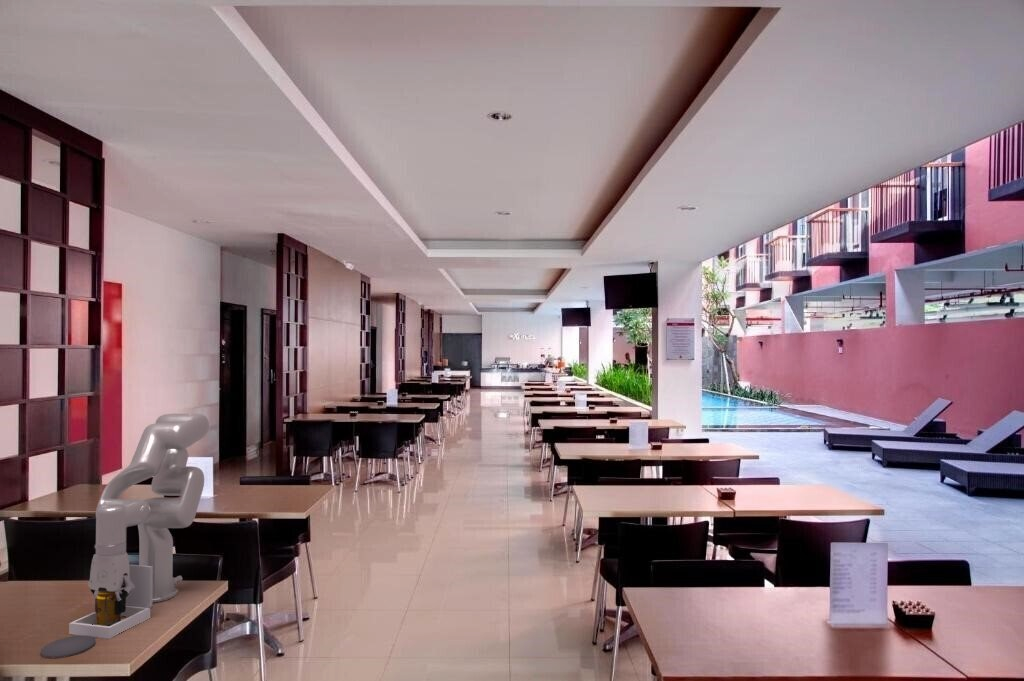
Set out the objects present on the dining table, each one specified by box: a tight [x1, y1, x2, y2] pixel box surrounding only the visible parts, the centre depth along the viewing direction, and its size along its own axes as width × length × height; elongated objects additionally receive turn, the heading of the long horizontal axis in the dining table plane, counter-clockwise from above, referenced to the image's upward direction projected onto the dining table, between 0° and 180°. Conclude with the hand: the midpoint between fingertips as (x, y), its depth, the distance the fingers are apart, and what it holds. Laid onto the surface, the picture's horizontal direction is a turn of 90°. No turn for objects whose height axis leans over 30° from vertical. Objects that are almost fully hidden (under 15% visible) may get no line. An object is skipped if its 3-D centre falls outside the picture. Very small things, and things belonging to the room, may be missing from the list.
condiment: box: [95, 587, 125, 626], centre depth 190 cm, size 7×8×12 cm
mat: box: [40, 635, 96, 658], centre depth 176 cm, size 12×12×1 cm
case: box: [68, 563, 153, 640], centre depth 191 cm, size 16×14×15 cm
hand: (110, 611), depth 190 cm, fingers closed on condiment, 6 cm apart
